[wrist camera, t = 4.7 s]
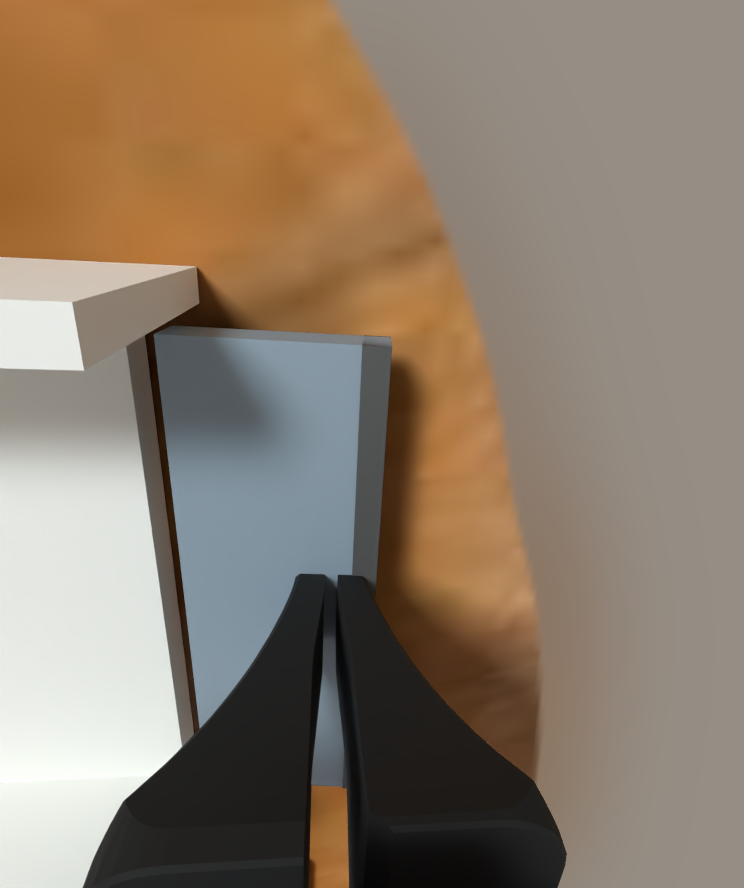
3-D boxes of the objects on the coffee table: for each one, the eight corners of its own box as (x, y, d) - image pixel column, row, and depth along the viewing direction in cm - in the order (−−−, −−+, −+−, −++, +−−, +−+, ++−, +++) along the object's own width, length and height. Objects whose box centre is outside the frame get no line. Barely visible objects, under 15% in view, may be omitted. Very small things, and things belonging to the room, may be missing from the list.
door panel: (215, 747, 16) (363, 754, 16) (205, 782, 15) (362, 789, 15) (172, 324, 11) (391, 336, 11) (152, 334, 10) (392, 347, 10)
